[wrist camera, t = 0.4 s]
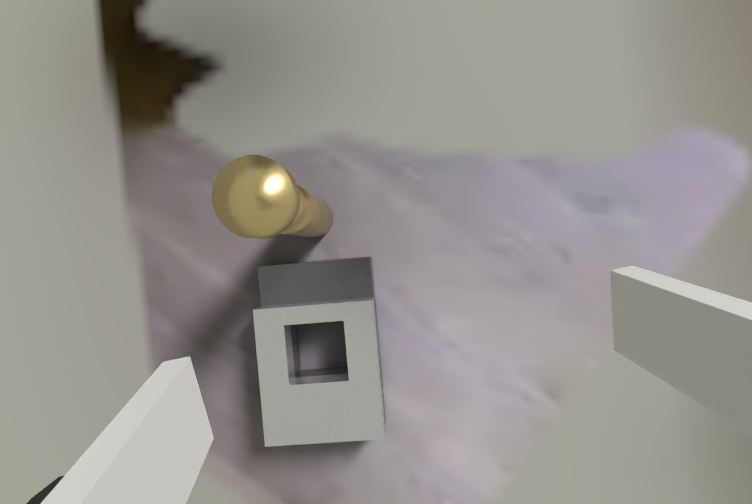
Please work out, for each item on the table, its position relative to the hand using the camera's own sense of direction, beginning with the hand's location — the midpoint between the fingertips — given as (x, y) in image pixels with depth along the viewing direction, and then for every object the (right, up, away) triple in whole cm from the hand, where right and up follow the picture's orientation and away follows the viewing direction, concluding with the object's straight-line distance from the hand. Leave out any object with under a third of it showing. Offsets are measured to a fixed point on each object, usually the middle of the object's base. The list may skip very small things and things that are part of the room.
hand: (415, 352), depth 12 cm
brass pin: (-7, +6, +25) cm, 27 cm away
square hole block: (-6, -5, +25) cm, 26 cm away
